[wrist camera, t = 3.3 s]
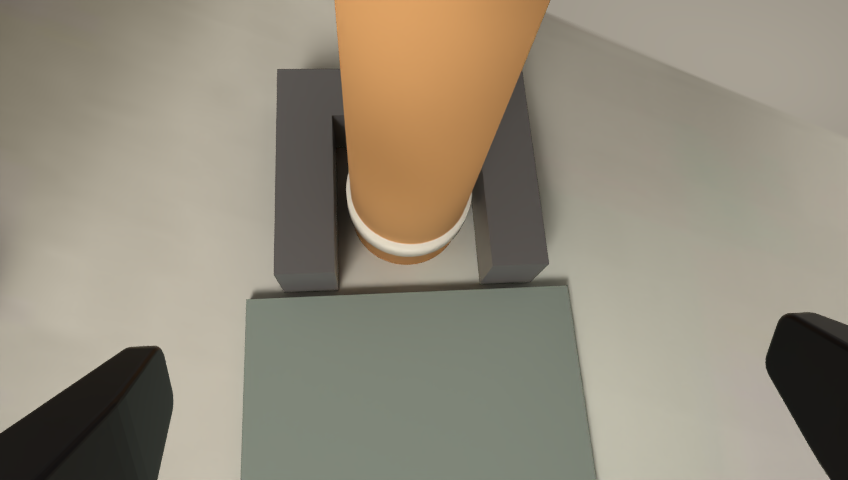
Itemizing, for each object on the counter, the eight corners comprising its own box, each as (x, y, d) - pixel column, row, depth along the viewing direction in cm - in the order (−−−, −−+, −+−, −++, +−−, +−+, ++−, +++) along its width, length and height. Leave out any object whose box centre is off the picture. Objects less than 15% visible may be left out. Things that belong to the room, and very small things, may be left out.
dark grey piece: (530, 282, 23) (549, 263, 20) (284, 292, 22) (273, 274, 19) (507, 102, 25) (521, 68, 23) (286, 105, 24) (277, 69, 22)
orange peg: (466, 265, 23) (580, 62, 10) (350, 270, 22) (323, 62, 10) (456, 161, 24) (546, -127, 12) (347, 163, 24) (321, -135, 11)
